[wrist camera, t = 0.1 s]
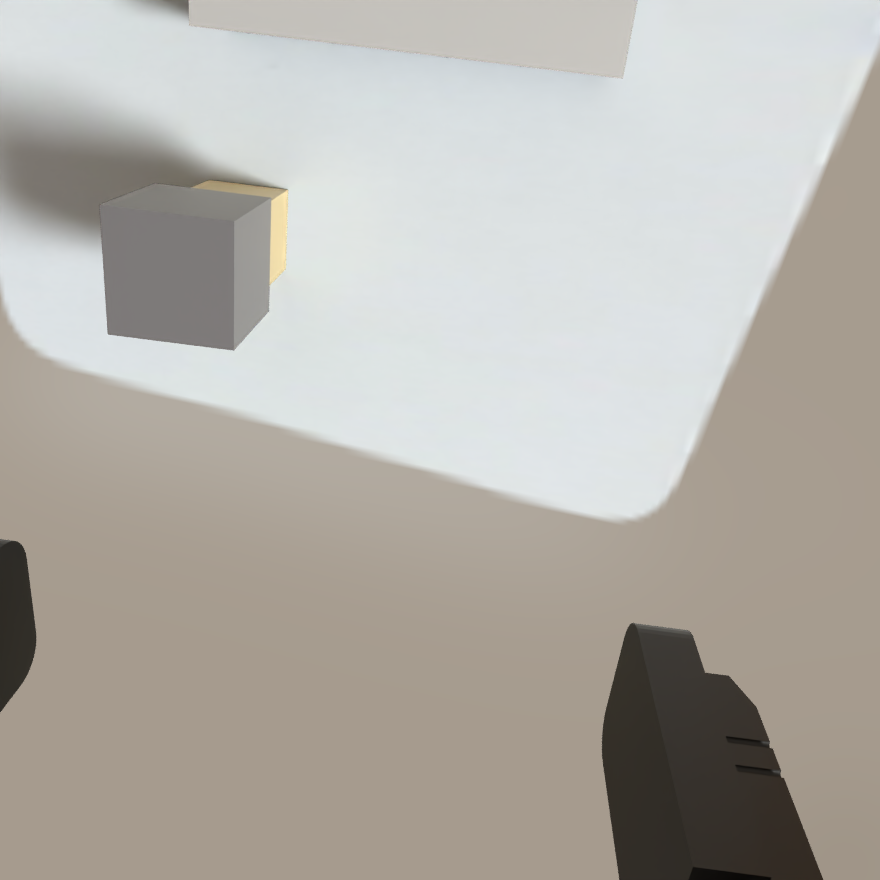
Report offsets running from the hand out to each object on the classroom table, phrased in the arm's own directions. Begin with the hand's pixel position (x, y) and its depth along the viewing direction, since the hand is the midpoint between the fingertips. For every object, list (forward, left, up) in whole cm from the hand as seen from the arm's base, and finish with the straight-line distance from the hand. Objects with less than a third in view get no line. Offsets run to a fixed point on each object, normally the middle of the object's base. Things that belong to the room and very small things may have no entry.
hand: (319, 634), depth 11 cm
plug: (+1, -9, -29) cm, 31 cm away
